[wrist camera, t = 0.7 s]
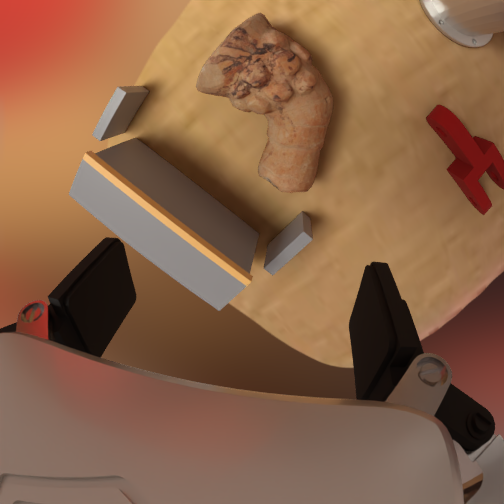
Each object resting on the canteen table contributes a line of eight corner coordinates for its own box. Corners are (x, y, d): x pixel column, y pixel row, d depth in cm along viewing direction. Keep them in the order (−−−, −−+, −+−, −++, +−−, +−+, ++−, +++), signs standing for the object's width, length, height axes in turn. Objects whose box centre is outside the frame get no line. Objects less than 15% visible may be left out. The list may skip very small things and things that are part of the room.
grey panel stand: (141, 85, 31) (86, 89, 21) (310, 218, 38) (315, 268, 28) (104, 152, 37) (50, 177, 27) (255, 270, 44) (243, 326, 33)
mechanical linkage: (498, 174, 30) (517, 185, 26) (472, 206, 33) (488, 220, 29) (440, 92, 27) (459, 93, 22) (410, 127, 30) (426, 133, 26)
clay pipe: (327, 46, 29) (212, 17, 25) (371, 39, 21) (219, -9, 17) (294, 174, 39) (183, 158, 35) (324, 205, 30) (179, 185, 26)
